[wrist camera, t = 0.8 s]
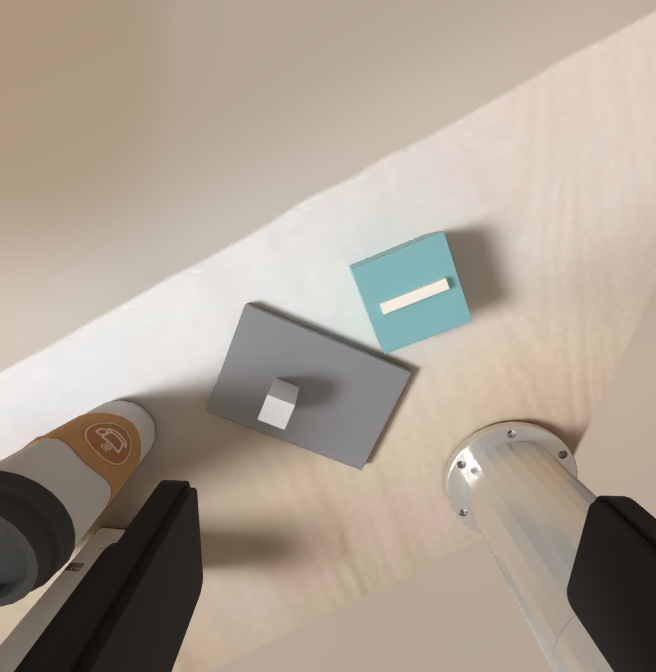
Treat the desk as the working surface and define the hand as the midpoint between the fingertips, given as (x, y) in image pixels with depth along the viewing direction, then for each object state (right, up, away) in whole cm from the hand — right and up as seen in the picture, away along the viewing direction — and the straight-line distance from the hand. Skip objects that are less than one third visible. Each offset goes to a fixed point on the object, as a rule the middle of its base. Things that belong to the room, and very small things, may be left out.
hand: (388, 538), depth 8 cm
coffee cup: (-22, -4, +26) cm, 34 cm away
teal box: (+5, +9, +22) cm, 25 cm away
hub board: (-3, 0, +25) cm, 25 cm away
